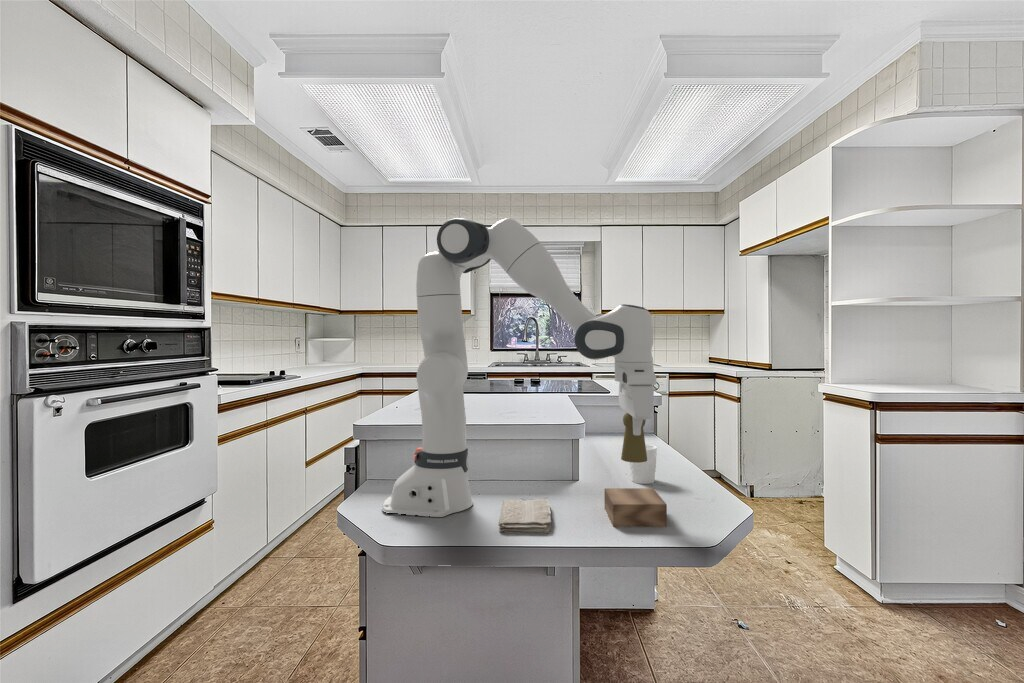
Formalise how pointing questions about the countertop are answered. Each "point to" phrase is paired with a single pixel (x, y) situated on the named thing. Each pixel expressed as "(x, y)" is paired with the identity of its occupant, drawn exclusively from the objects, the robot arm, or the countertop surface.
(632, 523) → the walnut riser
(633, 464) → the white cup
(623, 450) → the olive tapered upright piece
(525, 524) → the washcloth
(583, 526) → the countertop surface
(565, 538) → the countertop surface
